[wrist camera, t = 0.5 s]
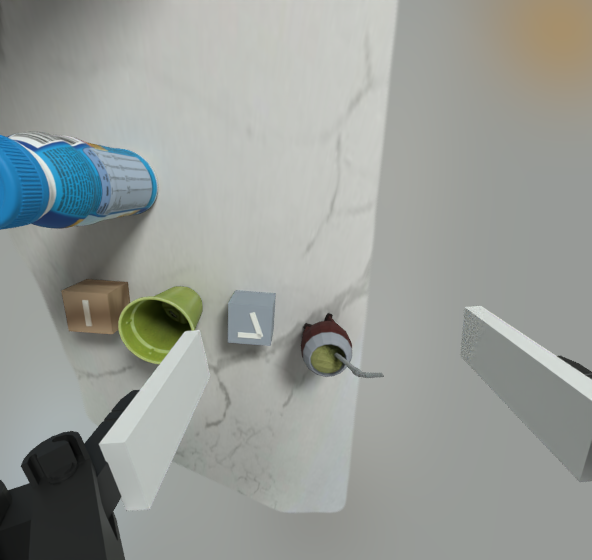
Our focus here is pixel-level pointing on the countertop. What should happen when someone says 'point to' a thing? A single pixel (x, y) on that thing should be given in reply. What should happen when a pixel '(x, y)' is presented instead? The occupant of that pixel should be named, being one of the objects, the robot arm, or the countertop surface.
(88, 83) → the countertop surface
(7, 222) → the beverage bottle
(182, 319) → the plant pot
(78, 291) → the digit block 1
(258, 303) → the digit block 7
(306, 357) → the mate gourd
